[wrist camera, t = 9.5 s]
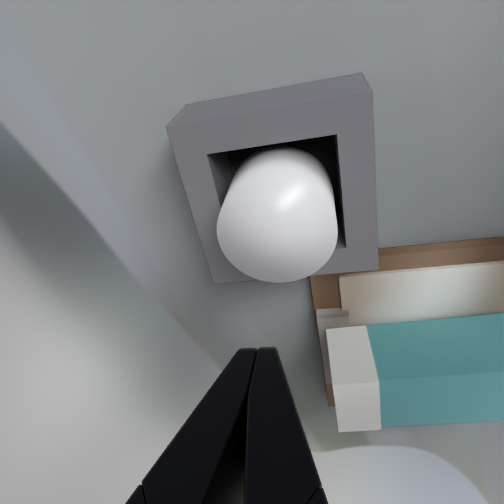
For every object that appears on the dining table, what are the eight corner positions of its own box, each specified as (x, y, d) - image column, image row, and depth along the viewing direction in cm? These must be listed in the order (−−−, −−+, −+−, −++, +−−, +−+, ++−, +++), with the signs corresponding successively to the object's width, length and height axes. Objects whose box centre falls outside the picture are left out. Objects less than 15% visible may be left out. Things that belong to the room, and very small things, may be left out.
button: (328, 137, 15) (332, 170, 12) (337, 233, 17) (342, 277, 14) (220, 154, 15) (203, 187, 13) (241, 243, 17) (231, 287, 15)
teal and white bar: (586, 304, 19) (640, 362, 16) (569, 356, 21) (616, 417, 18) (325, 329, 21) (332, 384, 18) (331, 374, 23) (338, 432, 20)
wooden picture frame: (665, 220, 17) (688, 237, 16) (598, 390, 23) (612, 410, 22) (307, 255, 20) (307, 271, 19) (328, 397, 26) (329, 415, 25)
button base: (362, 73, 15) (372, 90, 13) (369, 231, 19) (378, 269, 17) (186, 104, 17) (165, 126, 14) (225, 247, 20) (213, 284, 18)
